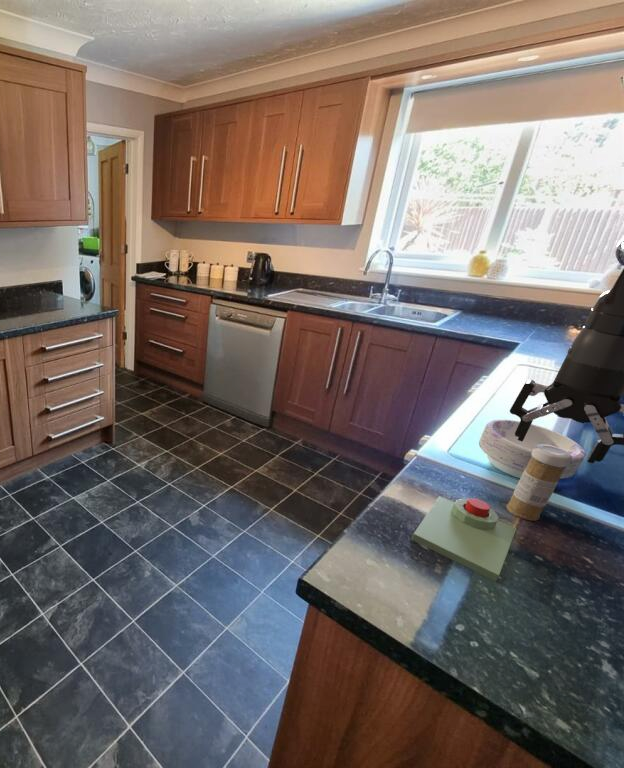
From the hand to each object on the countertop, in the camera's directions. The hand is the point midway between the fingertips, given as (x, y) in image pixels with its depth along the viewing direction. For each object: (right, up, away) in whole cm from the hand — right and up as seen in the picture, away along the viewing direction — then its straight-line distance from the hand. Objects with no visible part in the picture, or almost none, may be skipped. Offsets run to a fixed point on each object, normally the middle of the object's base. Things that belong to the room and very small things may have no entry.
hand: (553, 449), depth 71 cm
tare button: (-12, -11, +2) cm, 16 cm away
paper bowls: (+12, -7, +18) cm, 23 cm away
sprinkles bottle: (0, -13, +6) cm, 14 cm away
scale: (-16, -15, 0) cm, 21 cm away
